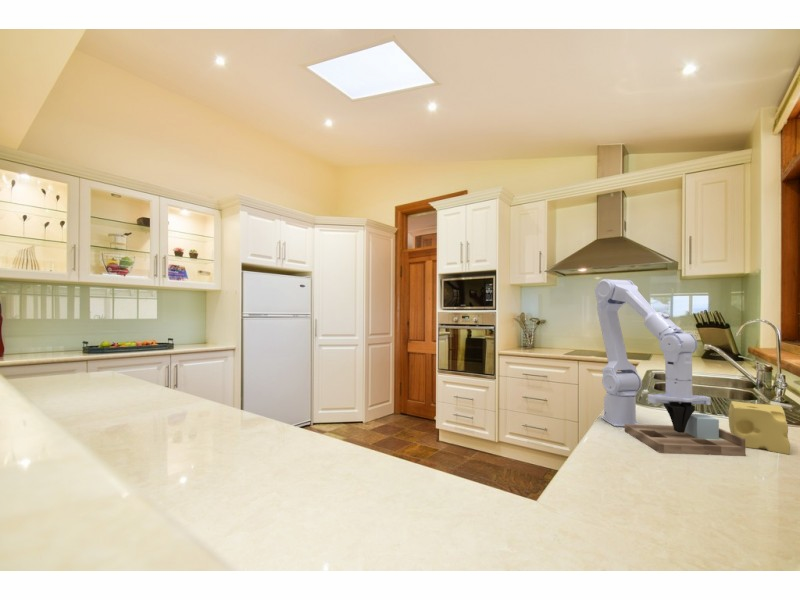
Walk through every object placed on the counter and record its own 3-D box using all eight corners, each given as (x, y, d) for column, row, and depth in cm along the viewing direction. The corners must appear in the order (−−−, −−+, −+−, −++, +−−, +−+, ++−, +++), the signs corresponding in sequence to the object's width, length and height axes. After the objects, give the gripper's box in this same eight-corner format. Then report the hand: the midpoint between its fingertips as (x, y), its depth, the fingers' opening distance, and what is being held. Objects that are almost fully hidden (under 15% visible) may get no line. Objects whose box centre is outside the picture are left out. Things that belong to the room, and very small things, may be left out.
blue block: (685, 432, 104) (685, 413, 104) (705, 433, 103) (705, 414, 103) (697, 438, 99) (697, 418, 99) (718, 439, 98) (718, 419, 98)
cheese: (790, 455, 93) (789, 413, 94) (731, 445, 100) (730, 406, 100) (782, 443, 102) (781, 405, 102) (728, 435, 108) (728, 399, 108)
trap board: (624, 431, 111) (624, 417, 111) (696, 433, 110) (696, 419, 110) (659, 452, 94) (659, 436, 94) (745, 455, 93) (745, 438, 93)
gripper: (658, 381, 99) (659, 435, 98) (719, 382, 98) (719, 437, 97) (643, 376, 106) (643, 427, 105) (699, 377, 105) (700, 428, 104)
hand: (679, 431), depth 102 cm, fingers closed
